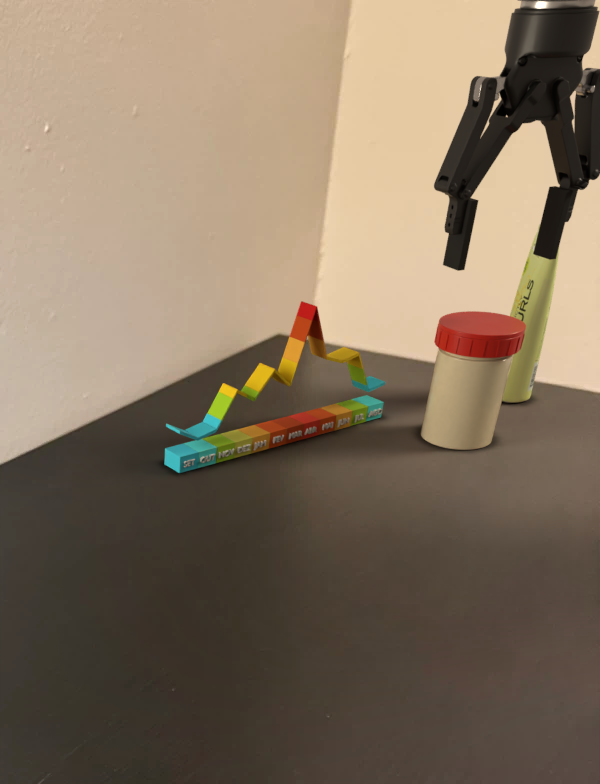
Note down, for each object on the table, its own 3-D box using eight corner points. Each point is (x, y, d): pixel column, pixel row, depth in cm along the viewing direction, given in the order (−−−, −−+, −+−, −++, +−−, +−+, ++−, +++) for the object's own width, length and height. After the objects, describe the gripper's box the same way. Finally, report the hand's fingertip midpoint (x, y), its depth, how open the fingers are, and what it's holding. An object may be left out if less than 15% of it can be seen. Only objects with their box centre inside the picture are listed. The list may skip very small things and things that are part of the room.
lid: (464, 362, 105) (469, 339, 103) (418, 337, 112) (422, 315, 110) (538, 352, 107) (544, 330, 105) (488, 329, 114) (493, 307, 112)
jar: (506, 444, 114) (534, 338, 106) (446, 454, 112) (470, 346, 105) (464, 420, 120) (488, 318, 112) (407, 429, 118) (427, 325, 111)
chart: (180, 474, 109) (188, 335, 100) (164, 464, 112) (170, 328, 102) (382, 418, 121) (405, 289, 112) (364, 410, 123) (385, 283, 114)
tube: (476, 395, 126) (515, 229, 114) (499, 386, 129) (540, 222, 117) (515, 407, 123) (560, 237, 111) (538, 397, 125) (585, 230, 113)
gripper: (631, -3, 96) (567, 243, 109) (424, 9, 91) (384, 265, 104) (690, -2, 90) (615, 258, 103) (473, 11, 85) (424, 281, 99)
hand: (499, 262), depth 104 cm, fingers open, 10 cm apart
